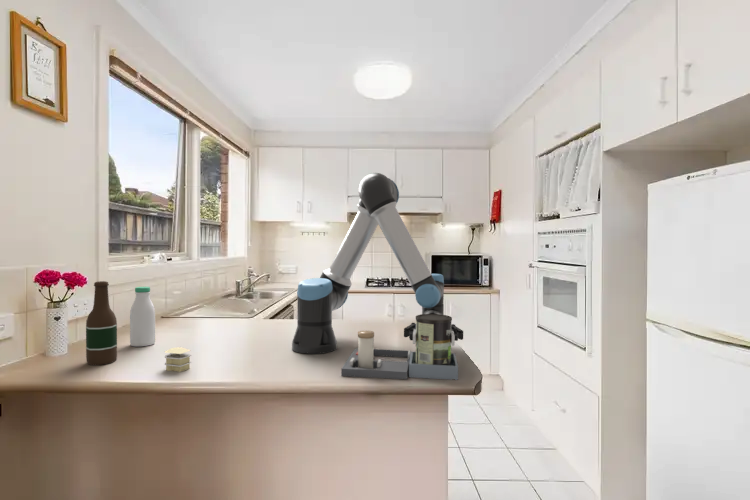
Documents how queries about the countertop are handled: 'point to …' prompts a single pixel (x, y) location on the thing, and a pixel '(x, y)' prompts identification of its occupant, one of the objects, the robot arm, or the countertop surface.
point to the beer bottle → (101, 329)
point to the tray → (433, 369)
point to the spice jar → (365, 349)
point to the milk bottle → (142, 319)
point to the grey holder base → (378, 365)
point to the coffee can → (433, 339)
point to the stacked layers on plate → (177, 359)
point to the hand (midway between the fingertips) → (433, 339)
